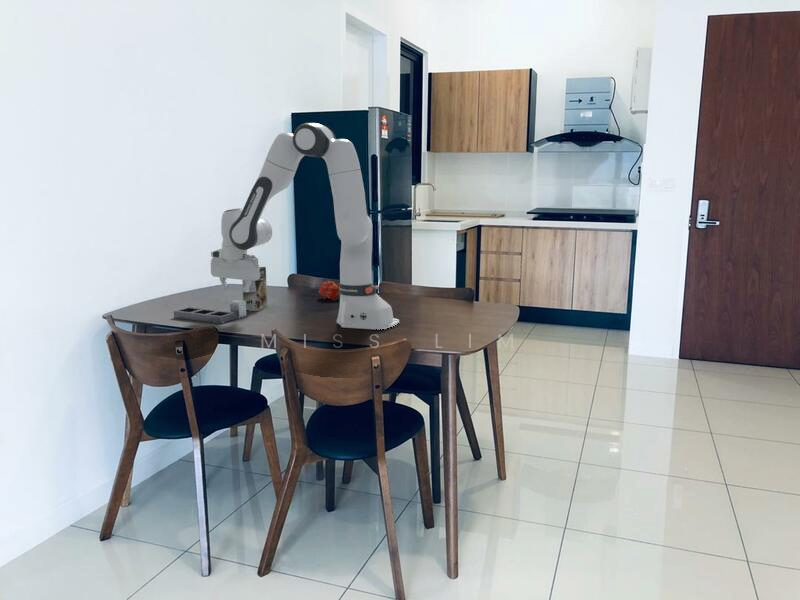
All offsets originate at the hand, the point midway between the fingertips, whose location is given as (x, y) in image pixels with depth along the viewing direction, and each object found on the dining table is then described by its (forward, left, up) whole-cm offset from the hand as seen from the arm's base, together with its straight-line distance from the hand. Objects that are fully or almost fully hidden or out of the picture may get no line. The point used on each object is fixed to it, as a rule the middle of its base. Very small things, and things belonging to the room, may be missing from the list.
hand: (235, 290), depth 235 cm
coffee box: (+3, -14, -10) cm, 18 cm away
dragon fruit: (-14, -43, -10) cm, 47 cm away
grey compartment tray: (+9, +8, -10) cm, 15 cm away
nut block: (0, 0, -10) cm, 10 cm away
